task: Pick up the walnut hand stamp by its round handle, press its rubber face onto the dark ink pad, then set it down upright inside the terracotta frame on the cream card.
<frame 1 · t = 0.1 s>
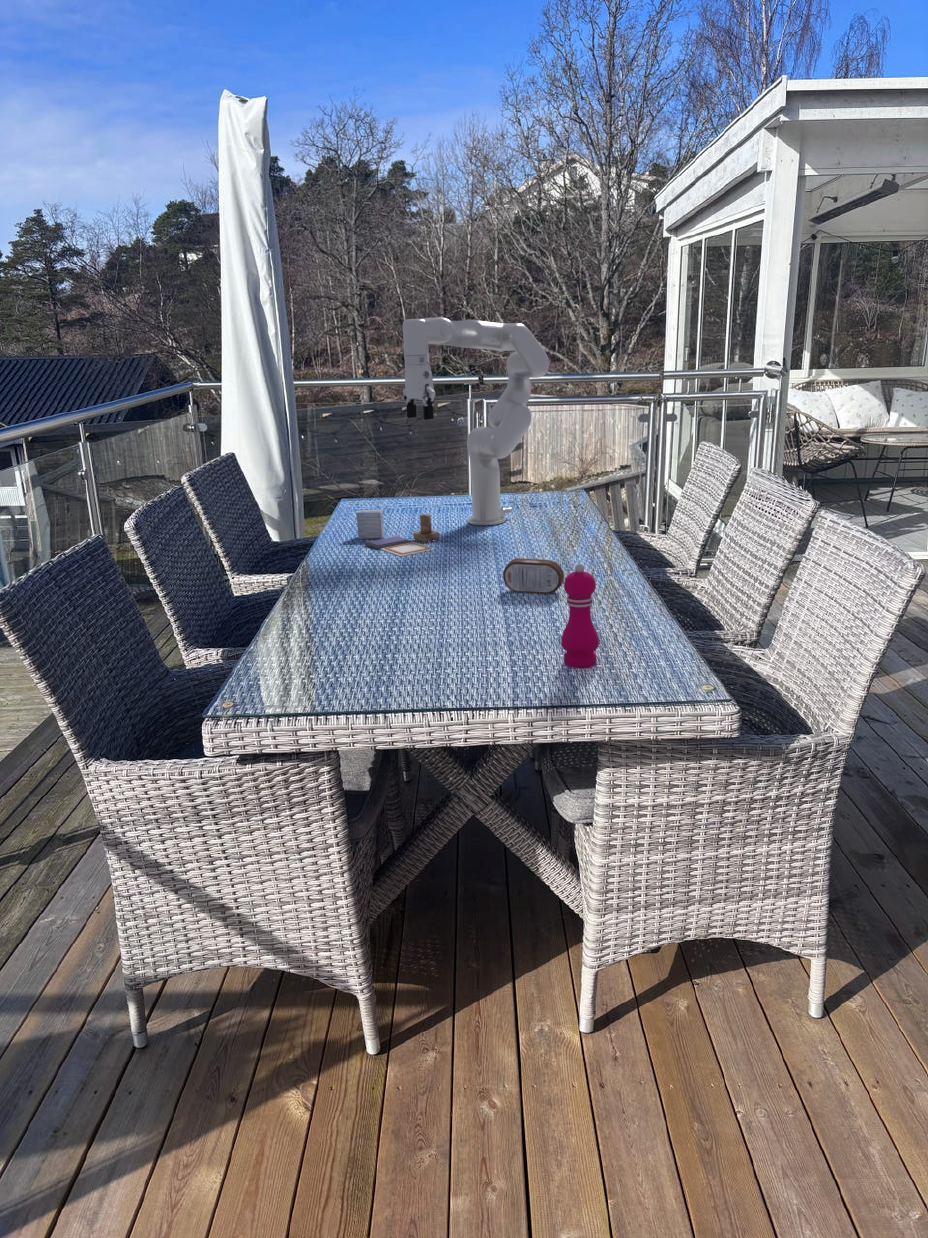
hand: (420, 418, 278), 37 cm above the table, tool pointing down, fingers open, 9 cm apart
ink pad: (387, 544, 277), on the table
medicine box: (371, 538, 288), on the table
pepper mill: (580, 664, 174), on the table
tin: (533, 593, 221), on the table
cream card: (407, 549, 269), on the table
stamp: (426, 540, 281), on the table
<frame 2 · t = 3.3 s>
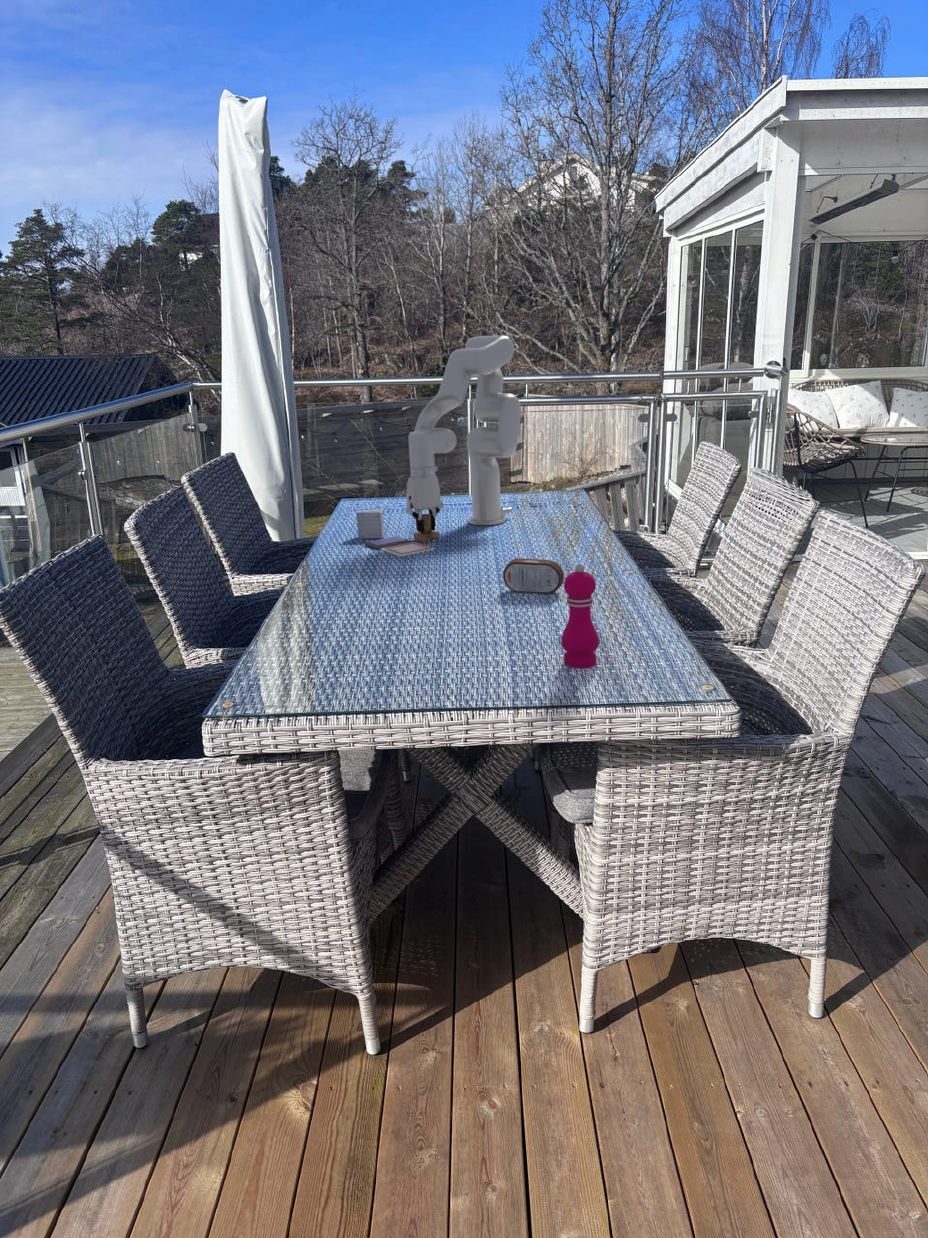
hand: (426, 530, 279), 3 cm above the table, tool pointing down, fingers closed on stamp, 3 cm apart
stamp: (426, 539, 280), on the table, touching gripper
everything else where it was.
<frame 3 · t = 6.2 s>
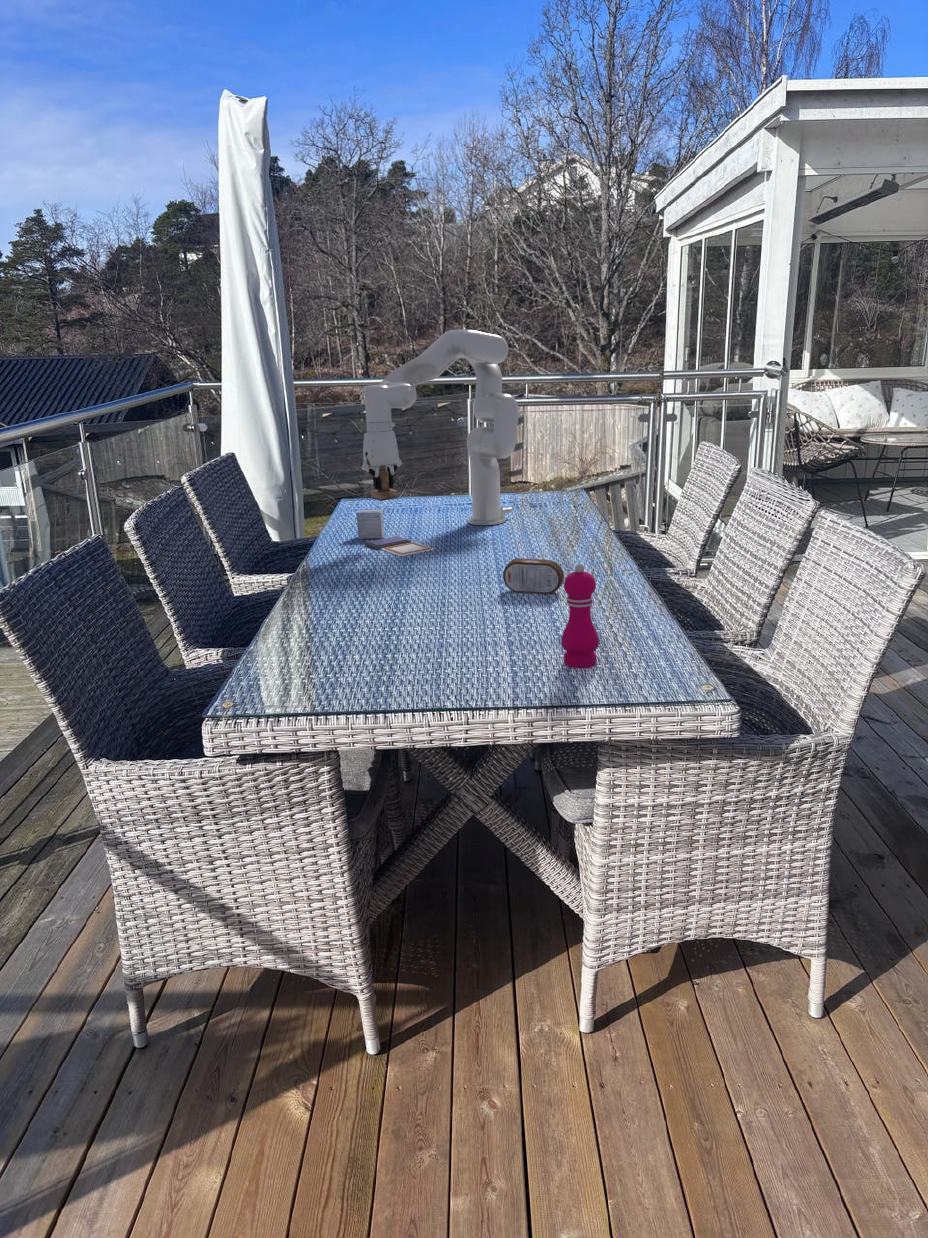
hand: (383, 488, 272), 18 cm above the table, tool pointing down, fingers closed on stamp, 3 cm apart
stamp: (384, 498, 272), point 14 cm above the table, touching gripper
everything else where it was.
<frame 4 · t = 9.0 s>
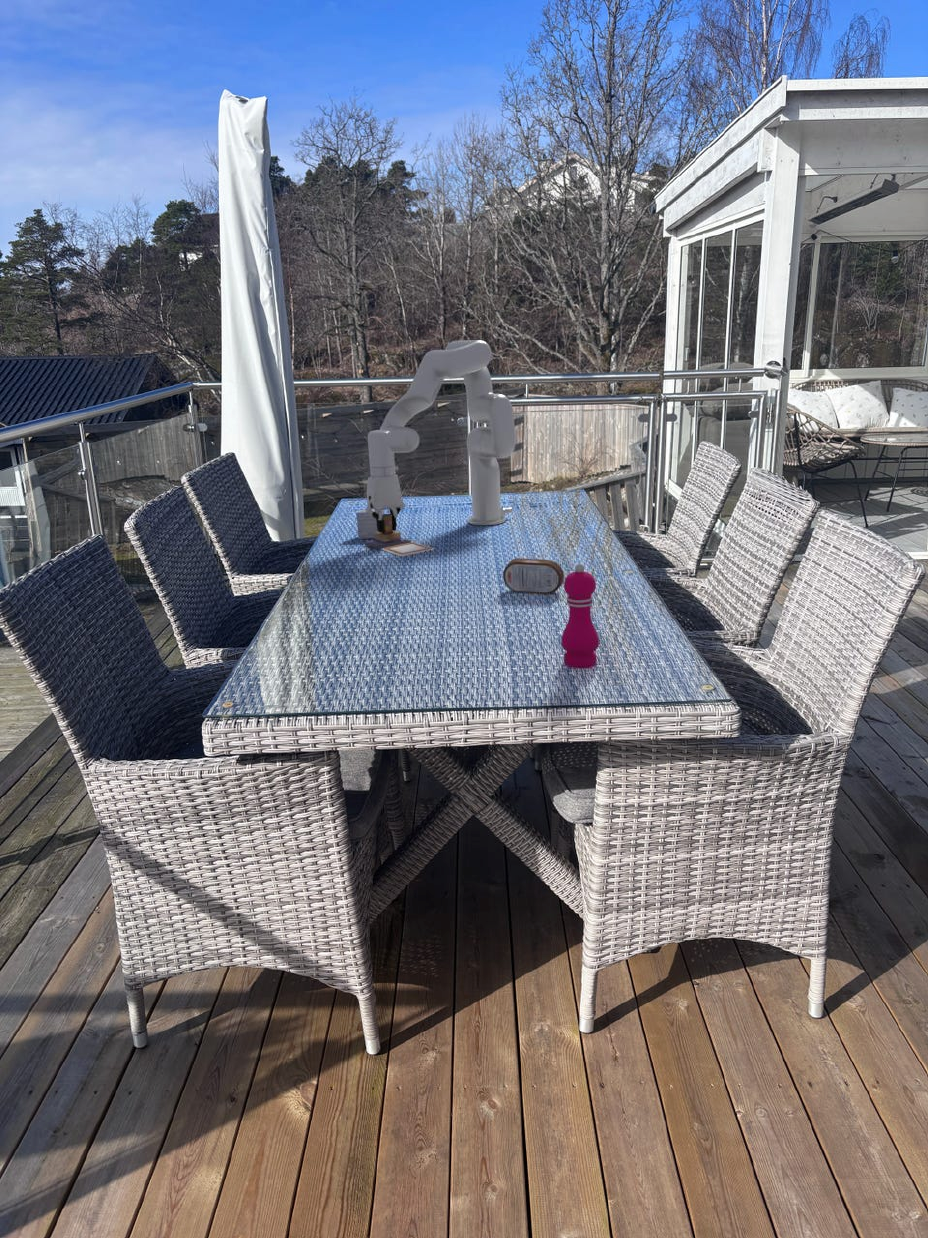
hand: (387, 530, 276), 4 cm above the table, tool pointing down, fingers closed on stamp, 3 cm apart
stamp: (387, 540, 277), point 1 cm above the table, touching gripper
everything else where it was.
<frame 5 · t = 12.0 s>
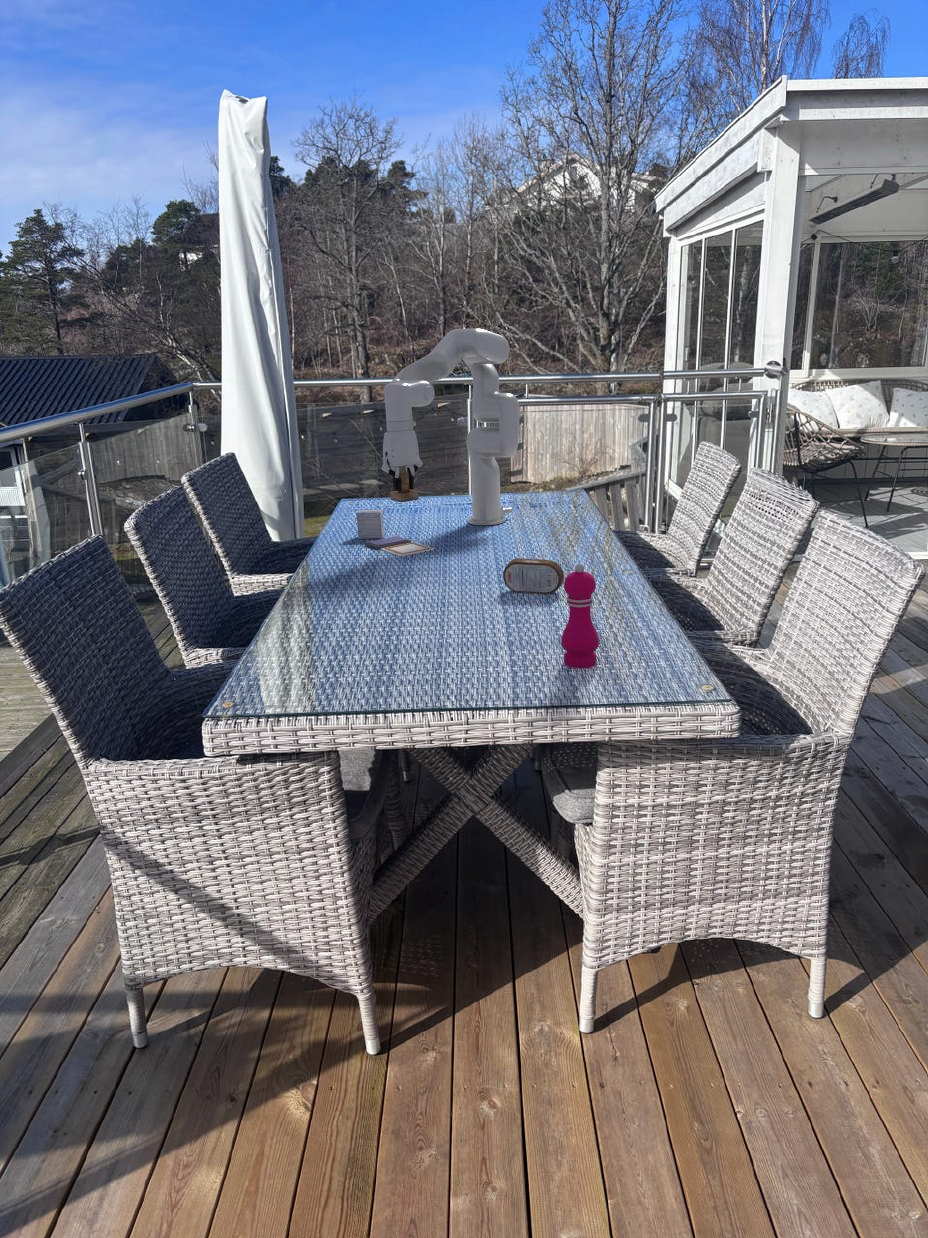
hand: (403, 489, 263), 18 cm above the table, tool pointing down, fingers closed on stamp, 3 cm apart
stamp: (404, 499, 264), point 15 cm above the table, touching gripper
everything else where it was.
when the fingers open (4 cm above the table, at t = 14.7 s): stamp stays where it is, resting on cream card.
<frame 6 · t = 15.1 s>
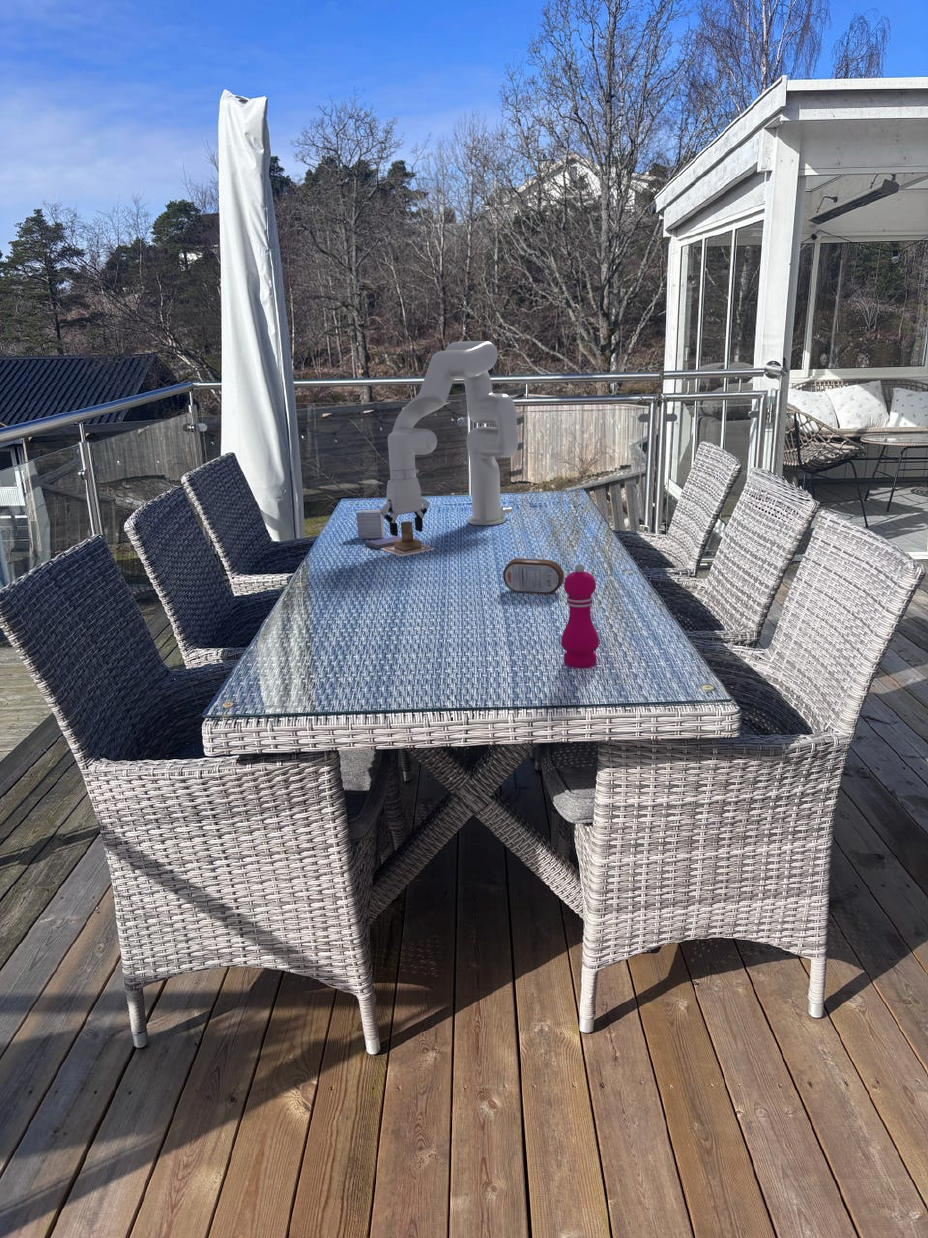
hand: (406, 532, 268), 5 cm above the table, tool pointing down, fingers open, 8 cm apart
stamp: (408, 548, 269), resting on cream card
everything else where it was.
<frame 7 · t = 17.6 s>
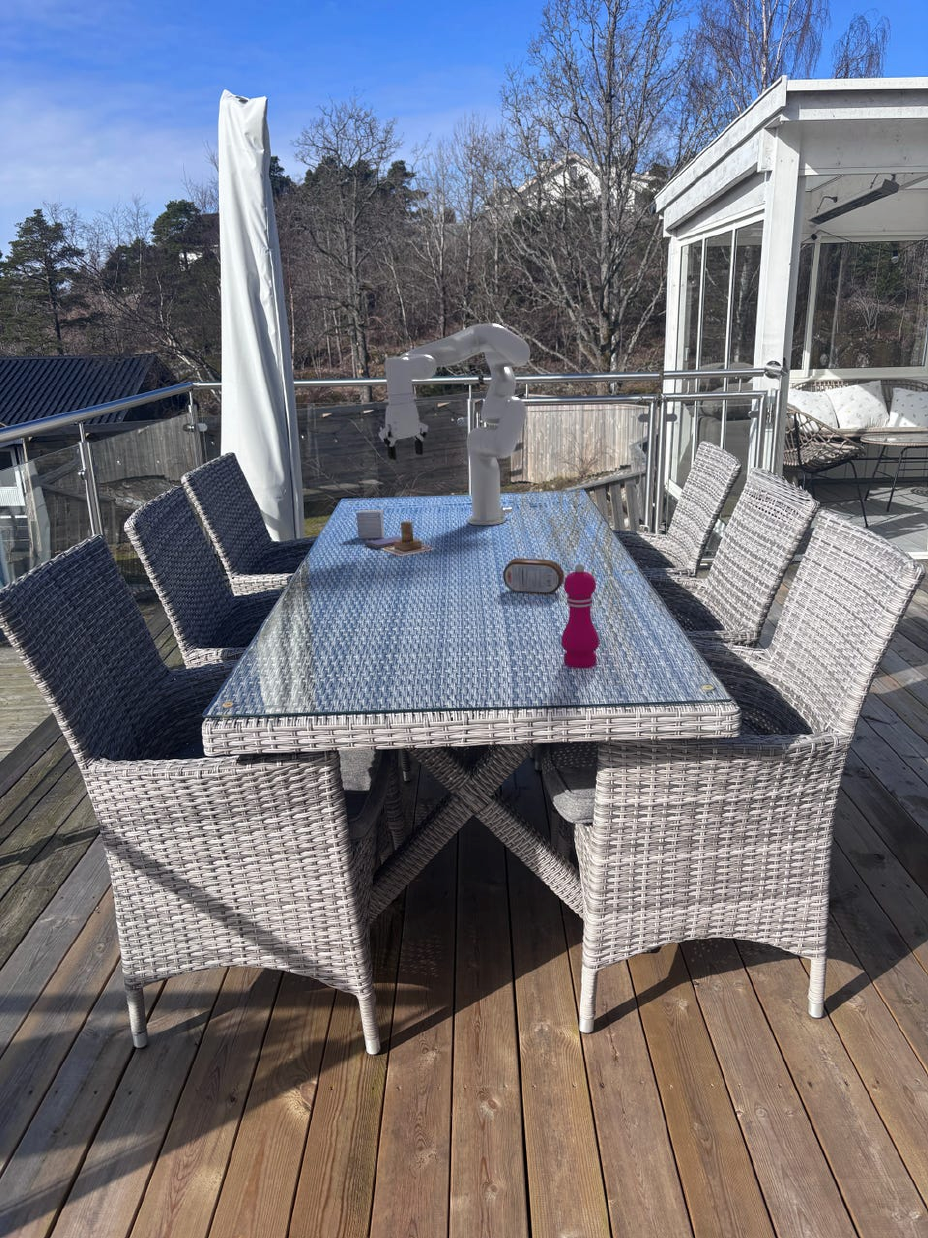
hand: (406, 456, 274), 26 cm above the table, tool pointing down, fingers open, 9 cm apart
nothing on the table moved.
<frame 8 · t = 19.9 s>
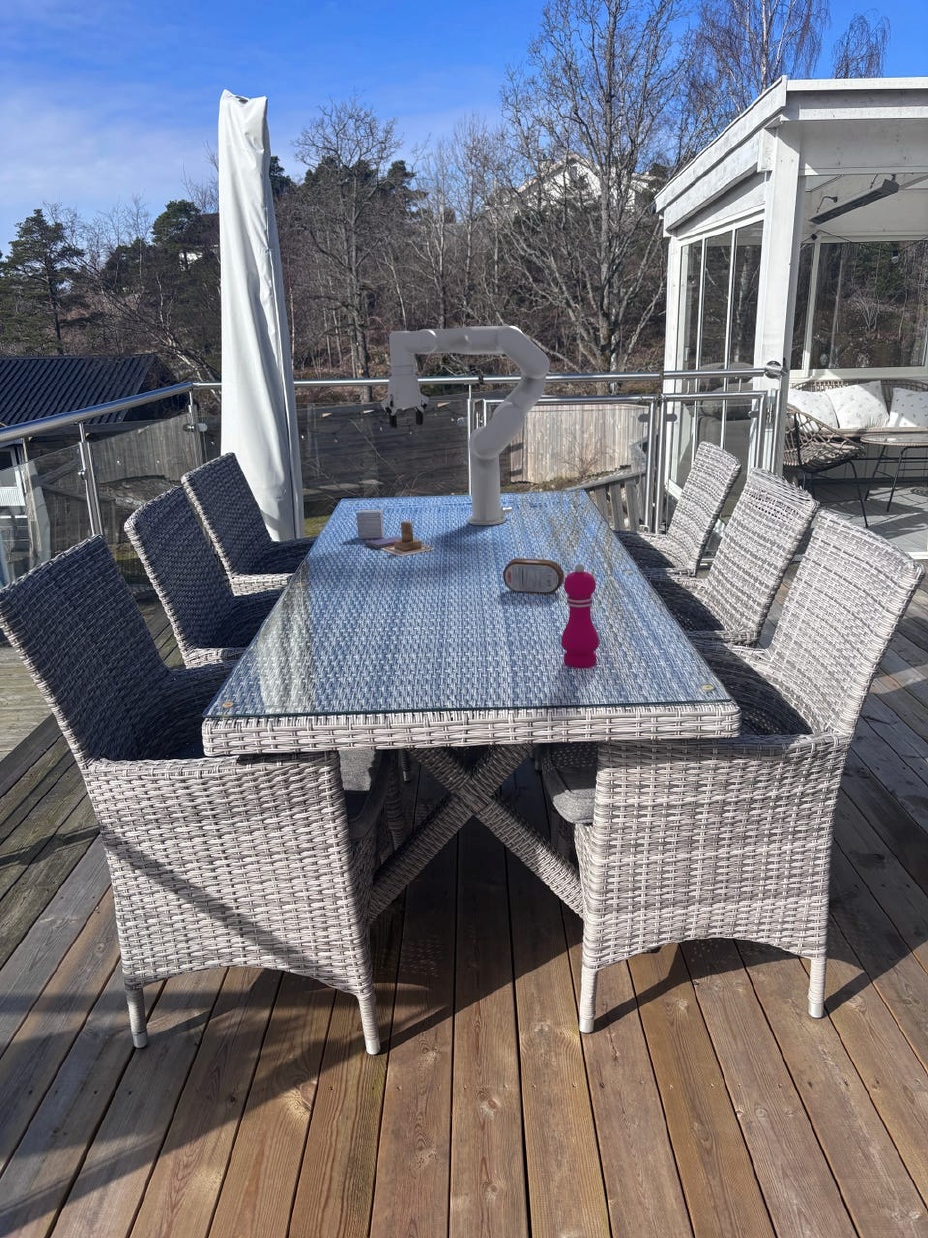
hand: (406, 426, 290), 33 cm above the table, tool pointing down, fingers open, 9 cm apart
nothing on the table moved.
at the end: stamp 0.1 cm off-centre on the cream card, point 0.3 cm above the cream card's base; stamp tilted 0°; the gripper is holding nothing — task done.
